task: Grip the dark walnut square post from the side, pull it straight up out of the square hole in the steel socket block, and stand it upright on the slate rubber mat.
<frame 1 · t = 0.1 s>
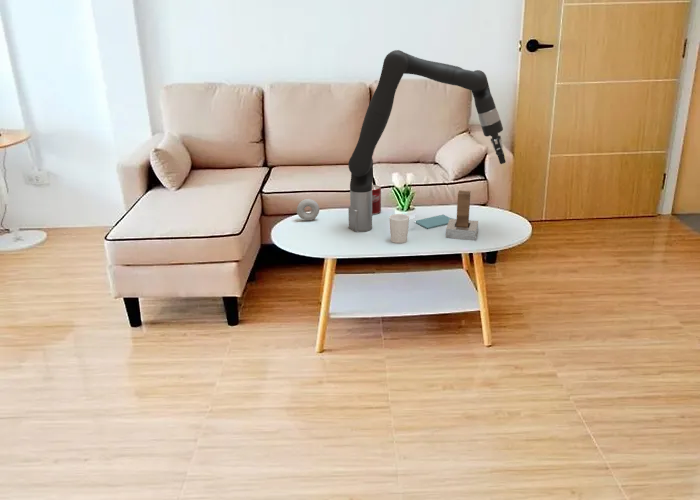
hand: (502, 160, 246), 31 cm above the table, tool tilted 20°, fingers open, 8 cm apart
donut: (308, 220, 278), on the table
soda can: (373, 212, 287), on the table
beige cup: (399, 240, 255), on the table
socket block: (461, 233, 260), on the table
slate mat: (435, 222, 273), on the table
walnut post: (463, 213, 256), in the socket block
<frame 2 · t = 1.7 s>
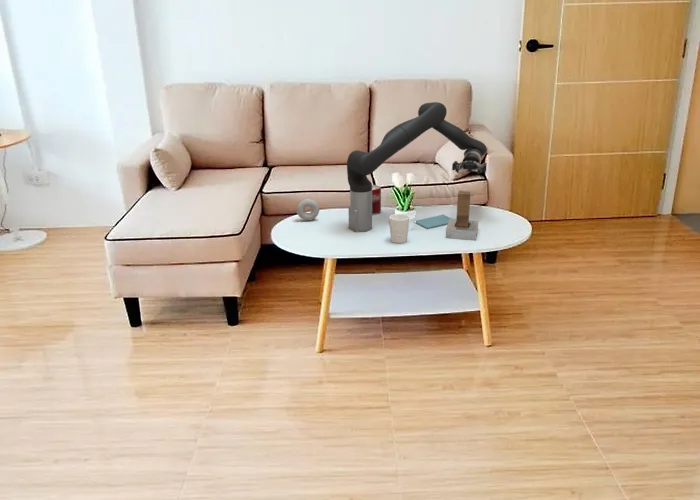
hand: (467, 171, 260), 24 cm above the table, tool horizontal, fingers open, 8 cm apart
nothing on the table moved.
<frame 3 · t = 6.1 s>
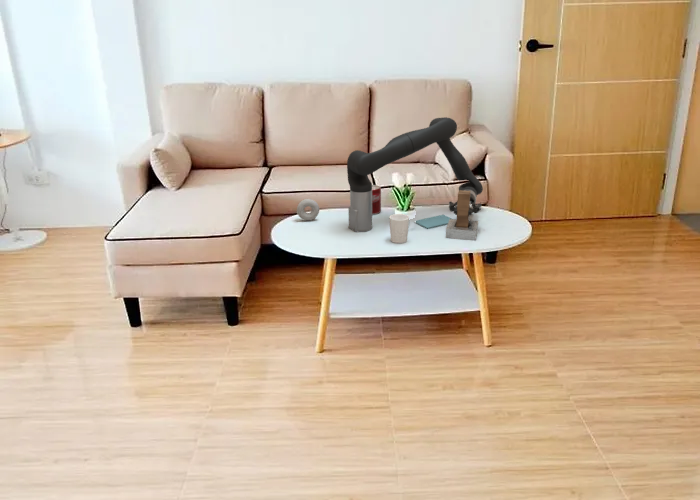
hand: (462, 213, 253), 10 cm above the table, tool horizontal, fingers closed on walnut post, 4 cm apart
walnut post: (463, 213, 256), in the socket block, touching gripper
everything else where it was.
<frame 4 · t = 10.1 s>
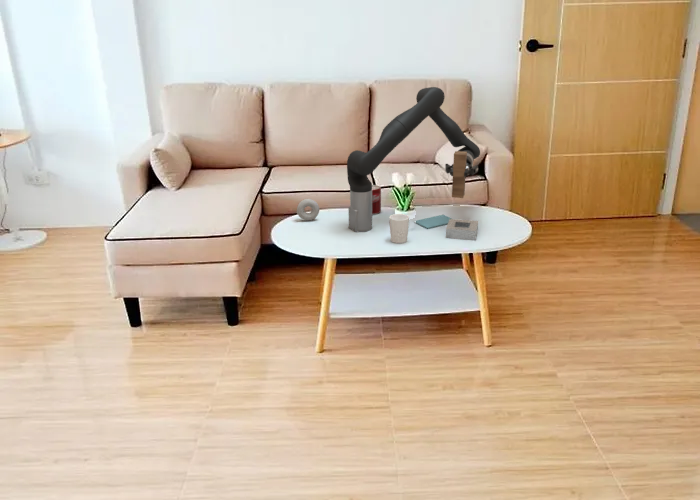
hand: (458, 174, 250), 26 cm above the table, tool horizontal, fingers closed on walnut post, 4 cm apart
walnut post: (459, 174, 252), point 25 cm above the table, touching gripper
everything else where it was.
when the fingers open (12 cm above the table, at t = 14.0 s): walnut post drops 1 cm, resting on slate mat.
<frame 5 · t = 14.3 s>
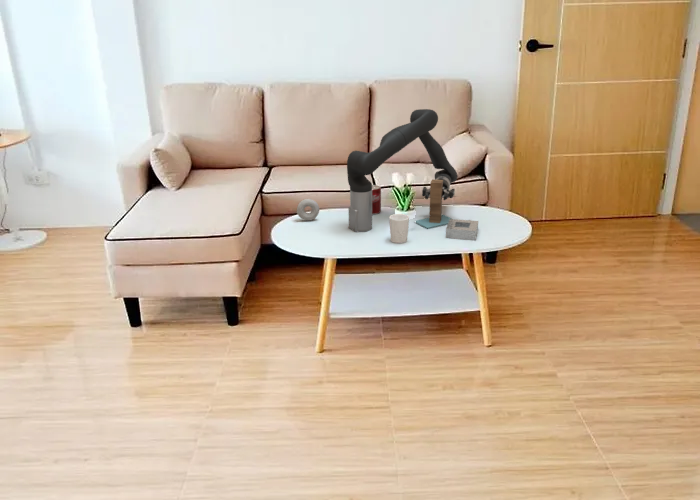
hand: (435, 197, 266), 12 cm above the table, tool horizontal, fingers open, 7 cm apart
walnut post: (436, 201, 269), on the slate mat, point 10 cm above the table
everything else where it was.
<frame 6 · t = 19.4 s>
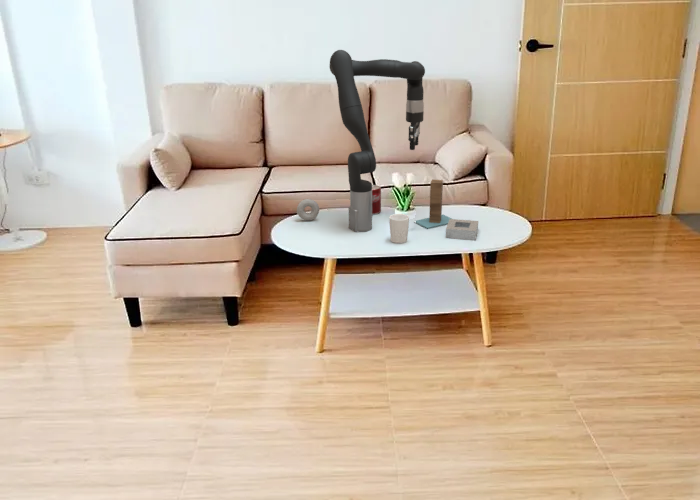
hand: (414, 147, 274), 30 cm above the table, tool pointing down, fingers open, 8 cm apart
nothing on the table moved.
at the end: walnut post inside the target area (0.1 cm from its centre), point 9.6 cm above the table; walnut post tilted 0°; the gripper is holding nothing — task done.
